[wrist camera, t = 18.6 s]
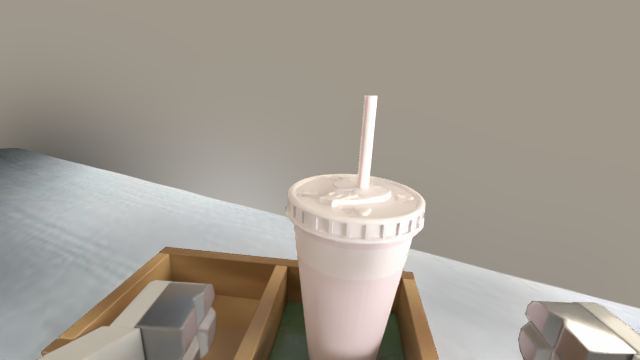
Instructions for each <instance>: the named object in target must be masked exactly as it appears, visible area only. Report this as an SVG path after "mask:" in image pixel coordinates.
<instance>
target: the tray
mask: <svg viewBox="0 0 640 360" xmlns="http://www.w3.org/2000/svg"><path fill="white" fill-rule="evenodd" d="M154 280H160V281H172V282H174V281H177V282H191V283H204V284H212V285H213V286H214V290H215V299H214V301H213V303H212V305H211V307H212V308H213V309H214V310H215V311H216V314H217V325H216V332H215V336H214V340H213V343H212V346H211V348H210V350H209V352H208V353H207V354H206V355H204V356H203V357H202V358H201V360H309V355H308V346H307V337H306V328H305V319H304V310H303V301H302V292H301V283H300V274H299V265H298V260H289V259H279V258H269V257H259V256H250V255H240V254H230V253H221V252H211V251H201V250H192V249H182V248H172V247H165V248H164V249H163V250H161V251H160V252H159V253H158V254H157V255H156V256H155V257H153V258H152V259H151V260H150V261H149V262H147V263H146V264H145V265H144V266H143V267H141V268H140V269H139V270H138V271H137V272H136V273H134V274H133V275H132V276H131V277H130V278H128V279H127V280H126V281H125V282H124V283H122V284H121V285H120V286H119V287H118V288H116V289H115V290H114V291H113V292H112V293H111V294H109V295H108V296H107V297H106V298H105V299H103V300H102V301H101V302H100V303H99V304H97V305H96V306H95V307H94V308H93V309H91V310H90V311H89V312H88V313H87V314H86V315H84V316H83V317H82V318H81V319H80V320H78V321H77V322H76V323H75V324H74V325H72V326H71V327H70V328H69V329H68V330H67V331H65V332H64V333H63V334H62V335H61V336H59V339H56V340H55V341H53V342H52V343H51V344H50V345H49V346H48V347H46V348H45V349H44V350H43V351H42V352H41V354H42V356H44V355H46V354H48V353H50V352H52V351H54V350H56V349H58V348H60V347H62V346H64V345H66V344H68V343H70V342H72V341H74V340H76V339H78V338H80V337H82V336H84V335H86V334H88V333H90V332H92V331H94V330H96V329H98V328H100V327H102V326H108V327H109V326H110V325H111V324H112V322H113V321H114V320H115V319H116V318H117V317H118V316H119V315H120V314H121V313H122V312H123V310H124V309H125V308H126V307H127V306H128V305H129V304H130V303H131V302H132V301H133V300H134V299H135V297H136V296H137V295H138V294H139V293H140V292H141V291H142V290H143V289H144V288H145V287H146V285H147V284H148V283H149V282H152V281H154ZM376 360H439V358H438V355H437V351H436V348H435V345H434V342H433V338H432V335H431V332H430V328H429V325H428V322H427V319H426V315H425V312H424V309H423V305H422V302H421V299H420V296H419V292H418V289H417V286H416V282H415V279H414V275H413V272H405V271H402V275H401V278H400V281H399V285H398V288H397V291H396V295H395V298H394V301H393V305H392V308H391V311H390V315H389V318H388V321H387V325H386V328H385V331H384V335H383V338H382V341H381V345H380V348H379V351H378V355H377V358H376Z"/></svg>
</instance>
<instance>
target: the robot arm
mask: <svg viewBox="0 0 640 360" xmlns="http://www.w3.org/2000/svg"><path fill="white" fill-rule="evenodd" d="M214 299H215V290H214V286H213V285H212V284H204V283H191V282H177V281H174V282H172V281H160V280H154V281H152V282H149V283H148V284H147V285H146V287H145V288H144V289H143V290H142V291H141V292H140V293H139V294H138V295H137V296H136V297H135V299H134V300H133V301H132V302H131V303H130V304H129V305H128V306H127V307H126V308H125V309H124V310H123V312H122V313H121V314H120V315H119V316H118V317H117V318H116V319H115V320H114V321H113V322H112V324H111V325H110V326H109V327H108V326H102V327H100V328H98V329H96V330H94V331H92V332H90V333H88V334H86V335H84V336H82V337H80V338H78V339H76V340H74V341H72V342H70V343H68V344H66V345H64V346H62V347H60V348H58V349H56V350H54V351H52V352H50V353H48V354H46V355H44V356H42V357H40V358H38V359H36V360H201V358H202V357H203V356H204V355H206V354H207V353H208V352H209V350H210V348H211V346H212V343H213V340H214V336H215V332H216V325H217V314H216V311H215V310H214V309H213V308H212V307H211V305H212V303H213V301H214ZM525 315H526V317H527V318H528V320H529V322H528V323H527V324H525V325H524V326H523V327H522V328H521V330H520V334H519V338H518V341H519V347H520V352H521V354H522V357H523V359H524V360H640V335H639V334H637V333H636V332H635V331H634V330H632V329H631V328H630V327H628V326H627V325H626V324H625V323H623V322H622V321H621V320H620V319H618V318H617V317H616V316H615V315H613V314H612V313H611V312H610V311H608V310H607V309H606V308H605V307H603V306H601V305H599V304H596V303H586V302H573V303H564V302H543V301H532V302H531V303H530V304H529V305H528V307H527V310H526V313H525Z"/></svg>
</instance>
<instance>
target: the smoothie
mask: <svg viewBox="0 0 640 360" xmlns="http://www.w3.org/2000/svg"><path fill="white" fill-rule="evenodd" d="M376 104H377V96H369V95H365V97H364V108H363V120H362V132H361V144H360V156H359V168H358V175H355V174H327V175H319V176H313V177H309V178H306V179H302V180H300V181H298V182H296V183H295V184H294V185H292V186H291V187H290V188H289V190H288V204H287V206H286V214H287V217H288V218H289V219H290V221H291V222H292V223H293V224H294V228H295V239H296V249H297V256H298V265H299V274H300V283H301V292H302V301H303V310H304V319H305V328H306V337H307V346H308V355H309V360H376V358H377V355H378V351H379V348H380V345H381V341H382V338H383V335H384V331H385V328H386V325H387V321H388V318H389V315H390V311H391V308H392V305H393V301H394V298H395V295H396V291H397V288H398V285H399V281H400V278H401V275H402V271H403V268H404V265H405V262H406V259H407V255H408V252H409V248H410V244H411V241H412V237H413V236H415V235H416V234H418V233H419V231H420V230H421V229H422V228H423V226H424V212H425V206H426V203H425V201H424V199H423V198H422V197H421V195H420V194H419V193H417V192H416V191H414V190H413V189H411V188H409V187H407V186H405V185H402V184H400V183H397V182H394V181H391V180H387V179H383V178H378V177H372V176H370V166H371V156H372V146H373V135H374V126H375V115H376V106H377V105H376Z"/></svg>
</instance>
